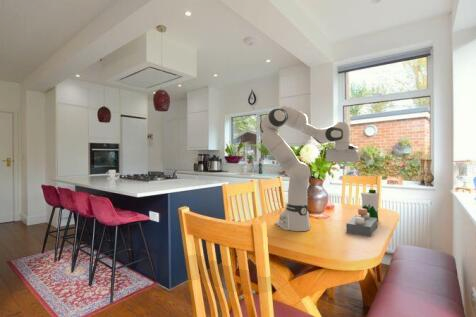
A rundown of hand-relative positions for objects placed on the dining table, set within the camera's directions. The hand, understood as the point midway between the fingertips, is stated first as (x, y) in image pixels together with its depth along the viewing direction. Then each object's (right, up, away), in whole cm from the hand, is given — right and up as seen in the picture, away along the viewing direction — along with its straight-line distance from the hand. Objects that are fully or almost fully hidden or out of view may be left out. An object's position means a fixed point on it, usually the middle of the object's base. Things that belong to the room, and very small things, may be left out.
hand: (342, 169), depth 162 cm
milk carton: (+20, -34, +4) cm, 40 cm away
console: (+5, -34, -16) cm, 38 cm away
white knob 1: (0, -33, -23) cm, 40 cm away
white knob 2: (+10, -33, -10) cm, 36 cm away
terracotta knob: (+5, -29, -16) cm, 34 cm away
